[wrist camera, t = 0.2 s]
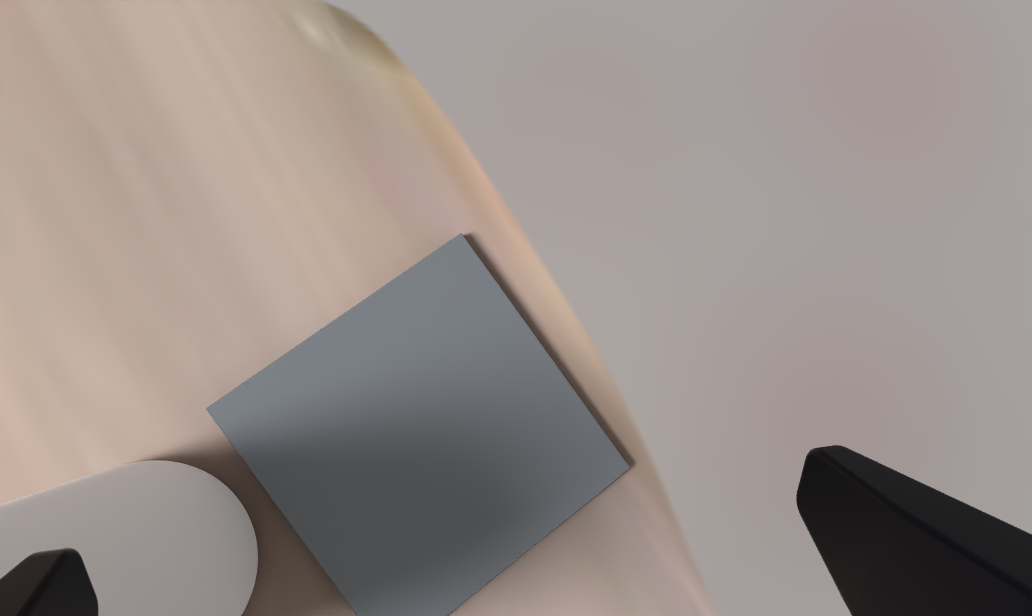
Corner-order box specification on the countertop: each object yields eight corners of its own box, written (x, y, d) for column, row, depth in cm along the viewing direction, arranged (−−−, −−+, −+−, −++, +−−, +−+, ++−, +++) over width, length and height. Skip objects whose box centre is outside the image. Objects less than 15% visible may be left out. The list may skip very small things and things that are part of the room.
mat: (626, 466, 24) (629, 467, 23) (390, 655, 22) (390, 661, 22) (460, 235, 24) (461, 232, 23) (209, 407, 22) (205, 408, 21)
